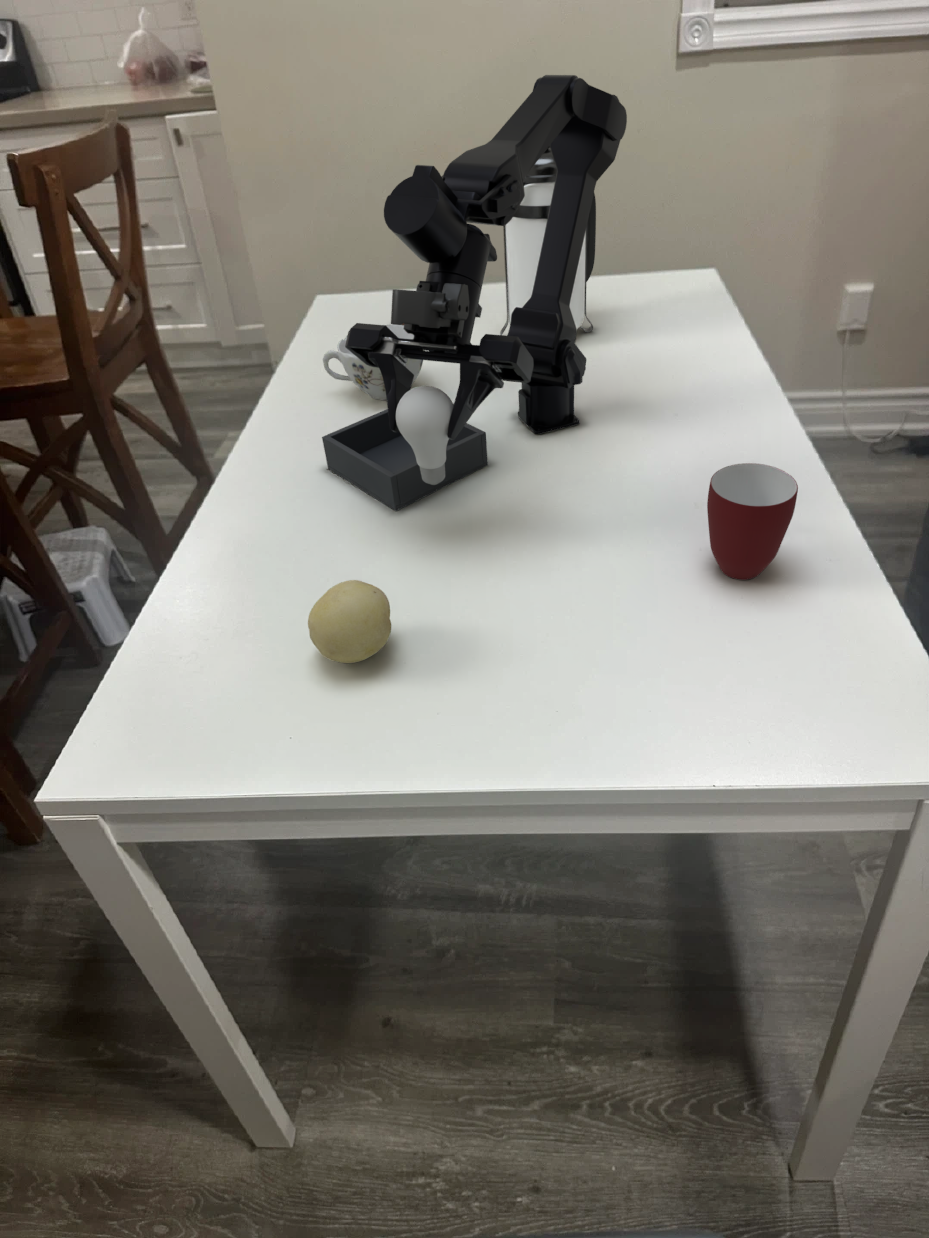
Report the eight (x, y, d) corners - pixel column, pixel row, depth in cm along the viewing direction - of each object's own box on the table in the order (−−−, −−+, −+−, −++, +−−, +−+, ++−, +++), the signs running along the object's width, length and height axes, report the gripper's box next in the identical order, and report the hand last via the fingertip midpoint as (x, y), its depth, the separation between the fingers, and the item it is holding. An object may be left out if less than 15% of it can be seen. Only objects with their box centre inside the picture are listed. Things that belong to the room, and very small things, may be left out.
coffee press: (604, 350, 133) (611, 130, 114) (501, 357, 134) (490, 140, 115) (593, 309, 146) (597, 107, 127) (499, 316, 147) (489, 115, 128)
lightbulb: (473, 476, 93) (464, 381, 86) (441, 504, 90) (429, 408, 82) (427, 463, 96) (415, 370, 89) (394, 490, 92) (379, 396, 85)
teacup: (432, 371, 132) (427, 319, 127) (429, 408, 122) (423, 353, 117) (335, 378, 133) (325, 327, 128) (324, 415, 123) (313, 361, 118)
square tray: (417, 428, 118) (413, 397, 115) (488, 465, 109) (486, 432, 106) (327, 469, 111) (321, 436, 108) (395, 511, 102) (390, 477, 99)
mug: (686, 536, 94) (694, 454, 87) (760, 530, 93) (774, 447, 87) (710, 596, 85) (722, 510, 79) (792, 589, 85) (810, 502, 79)
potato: (408, 666, 81) (398, 599, 76) (326, 691, 79) (310, 624, 74) (385, 619, 86) (374, 554, 81) (309, 641, 85) (292, 576, 80)
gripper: (336, 242, 83) (302, 399, 83) (518, 251, 77) (482, 421, 77) (384, 292, 94) (354, 432, 94) (548, 304, 87) (516, 454, 87)
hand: (421, 434), depth 88 cm, fingers closed on lightbulb, 6 cm apart
